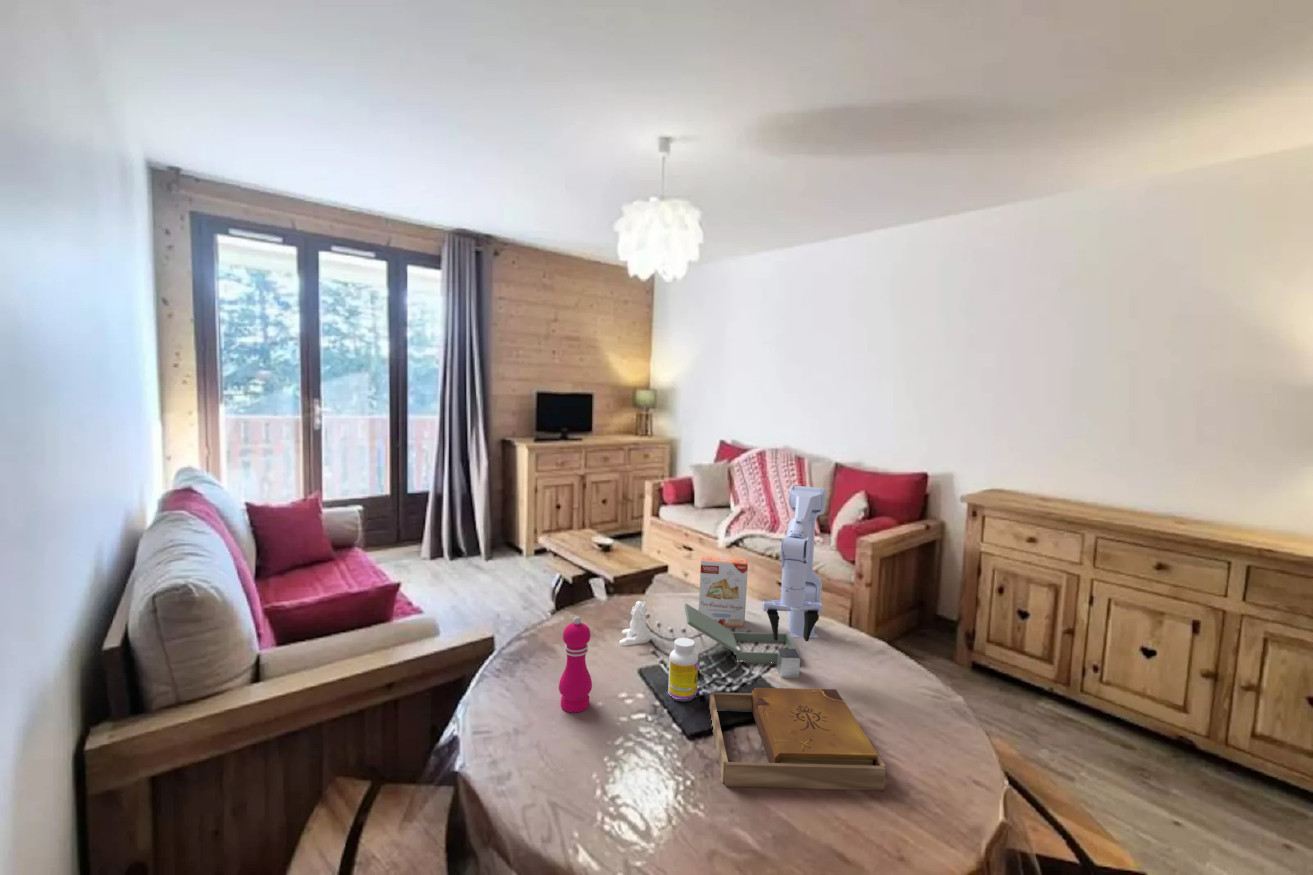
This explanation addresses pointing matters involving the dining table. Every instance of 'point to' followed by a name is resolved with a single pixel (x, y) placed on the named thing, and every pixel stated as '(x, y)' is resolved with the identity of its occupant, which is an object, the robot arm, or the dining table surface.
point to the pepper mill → (575, 668)
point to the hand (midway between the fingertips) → (790, 639)
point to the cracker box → (723, 590)
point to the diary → (809, 727)
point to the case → (735, 637)
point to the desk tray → (786, 772)
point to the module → (788, 663)
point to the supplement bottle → (683, 669)
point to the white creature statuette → (637, 626)
